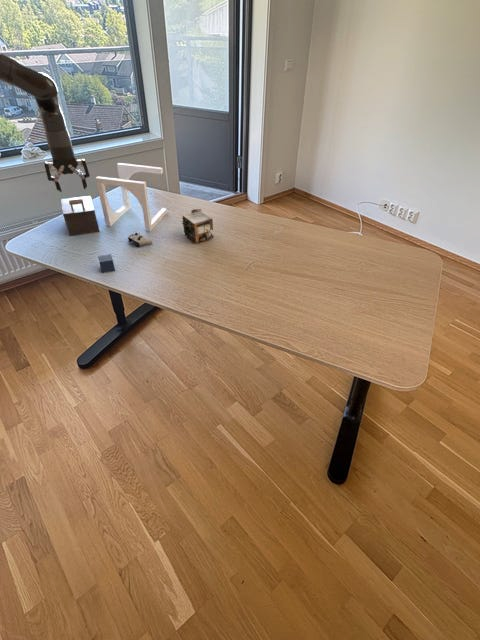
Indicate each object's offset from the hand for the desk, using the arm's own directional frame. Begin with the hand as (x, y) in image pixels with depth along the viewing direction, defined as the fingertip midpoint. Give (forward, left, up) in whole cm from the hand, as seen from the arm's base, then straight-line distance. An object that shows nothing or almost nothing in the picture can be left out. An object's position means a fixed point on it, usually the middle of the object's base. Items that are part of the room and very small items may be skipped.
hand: (72, 189), depth 131 cm
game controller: (+19, -16, -18) cm, 31 cm away
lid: (0, +6, -9) cm, 10 cm away
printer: (+43, -21, -18) cm, 51 cm away
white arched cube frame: (+23, +6, -18) cm, 30 cm away
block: (+5, -31, -18) cm, 36 cm away
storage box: (0, +6, -18) cm, 19 cm away
